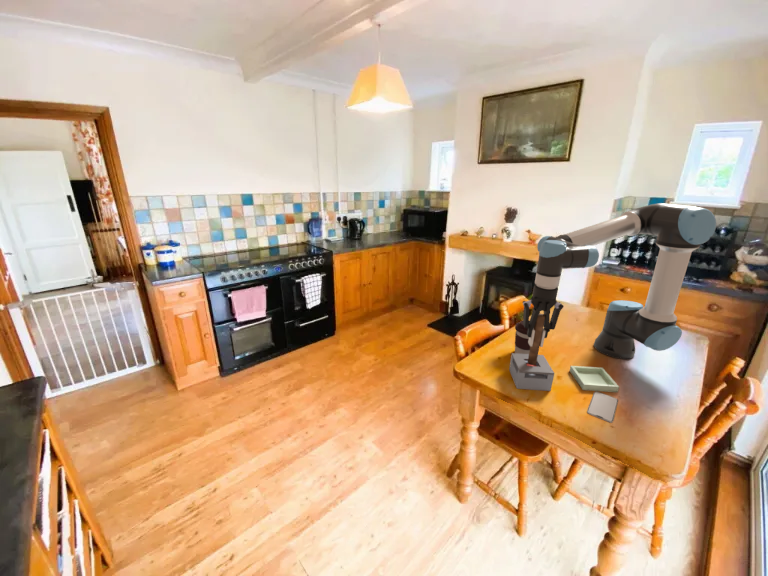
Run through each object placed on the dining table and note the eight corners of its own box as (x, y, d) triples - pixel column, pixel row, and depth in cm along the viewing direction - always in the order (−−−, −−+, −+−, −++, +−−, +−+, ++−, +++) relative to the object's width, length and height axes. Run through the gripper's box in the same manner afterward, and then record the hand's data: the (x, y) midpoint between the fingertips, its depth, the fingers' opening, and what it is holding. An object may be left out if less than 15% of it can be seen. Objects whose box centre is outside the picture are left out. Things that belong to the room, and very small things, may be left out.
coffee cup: (537, 361, 137) (543, 329, 132) (513, 358, 139) (518, 327, 133) (532, 349, 146) (538, 319, 141) (509, 346, 148) (514, 317, 143)
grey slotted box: (540, 371, 130) (543, 355, 127) (550, 390, 119) (554, 373, 116) (509, 369, 131) (511, 353, 129) (516, 388, 120) (519, 370, 117)
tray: (601, 372, 129) (602, 367, 128) (617, 392, 118) (619, 386, 117) (569, 370, 130) (570, 365, 130) (582, 389, 119) (584, 384, 118)
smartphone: (618, 399, 114) (612, 422, 104) (618, 400, 115) (612, 424, 104) (594, 390, 119) (586, 412, 108) (594, 391, 119) (586, 413, 108)
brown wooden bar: (534, 360, 124) (543, 313, 116) (537, 365, 121) (546, 317, 114) (526, 360, 124) (535, 313, 117) (528, 364, 121) (537, 316, 114)
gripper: (566, 282, 114) (554, 340, 122) (519, 281, 116) (510, 338, 124) (575, 290, 107) (561, 351, 115) (525, 288, 109) (515, 348, 117)
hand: (535, 344), depth 120 cm, fingers closed on brown wooden bar, 3 cm apart
